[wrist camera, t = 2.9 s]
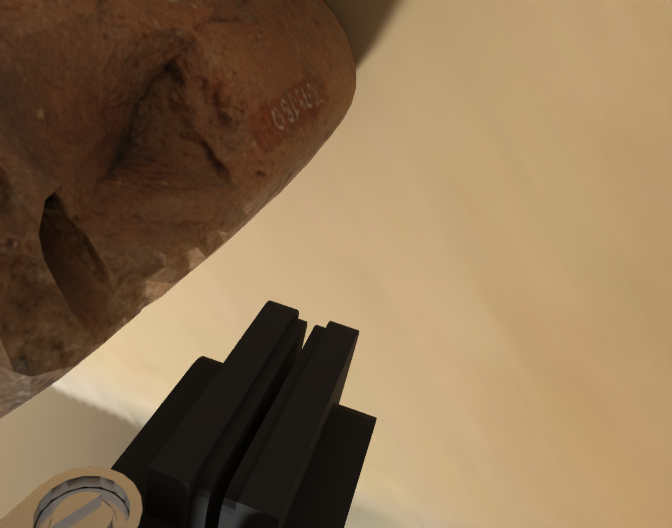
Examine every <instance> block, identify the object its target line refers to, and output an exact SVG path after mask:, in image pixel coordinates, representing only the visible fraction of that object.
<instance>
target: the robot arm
mask: <svg viewBox="0 0 672 528" xmlns="http://www.w3.org/2000/svg"><path fill="white" fill-rule="evenodd" d="M298 317H299V311H298V310H297V309H294V308H291V307H288V306H285V305H282V304H279V303H276V302H273V301H268V302H267V303H266V304H265V305H264V307H263V308H262V310H261V311H260V312H259V314H258V315H257V317H256V318H255V319H254V321H253V322H252V324H251V325H250V326H249V328H248V329H247V331H246V332H245V333H244V335H243V336H242V338H241V339H240V340H239V342H238V343H237V345H236V346H235V347H234V349H233V350H232V352H231V353H230V354H229V356H228V357H227V359H226V360H225V361H224V363H221V362H218V361H216V360H213V359H210V358H207V357H204V356H202V357H200V358H198V359H197V360H196V361H195V362H194V363H193V365H192V366H191V367H190V368H189V370H188V371H187V372H186V373H185V375H184V376H183V377H182V379H181V380H180V381H179V382H178V384H177V385H176V386H175V387H174V389H173V390H172V391H171V393H170V394H169V395H168V396H167V398H166V399H165V400H164V402H163V403H162V404H161V405H160V407H159V408H158V409H157V410H156V412H155V413H154V414H153V416H152V417H151V418H150V419H149V421H148V422H147V423H146V424H145V426H144V427H143V428H142V430H141V431H140V432H139V433H138V435H137V436H136V437H135V439H134V440H133V441H132V442H131V444H130V445H129V446H128V447H127V449H126V450H125V451H124V453H123V454H122V455H121V456H120V458H119V459H118V460H117V461H116V463H115V464H114V465H113V466H112V468H111V469H109V468H102V467H92V466H90V467H82V468H75V469H71V470H68V471H66V472H63V473H61V474H58V475H55V476H54V477H52V478H51V479H49V480H48V481H46V482H45V483H43V484H42V485H40V486H39V487H38V488H37V489H35V491H33V492H32V493H31V494H30V495H29V496H27V497H26V498H25V499H24V500H23V501H22V502H21V503H19V504H18V505H17V506H16V507H15V508H14V509H13V510H12V511H10V512H9V513H8V514H7V515H6V516H5V517H3V518H2V519H1V520H0V528H344V526H345V522H346V519H347V515H348V512H349V509H350V506H351V502H352V499H353V496H354V493H355V489H356V486H357V483H358V479H359V476H360V473H361V469H362V466H363V463H364V459H365V456H366V453H367V449H368V446H369V443H370V440H371V436H372V433H373V430H374V426H375V423H376V419H377V418H376V417H373V416H370V415H367V414H365V413H362V412H359V411H356V410H353V409H351V408H348V407H345V406H342V405H339V402H340V398H341V395H342V391H343V388H344V384H345V381H346V377H347V374H348V370H349V367H350V363H351V360H352V356H353V353H354V349H355V346H356V342H357V339H358V335H359V330H356V329H353V328H350V327H347V326H344V325H341V324H338V323H335V322H332V321H329V323H328V324H327V326H326V328H324V327H321V326H318V325H315V326H314V328H313V330H312V332H311V334H310V335H309V337H308V339H307V341H306V343H305V345H304V347H303V348H302V346H303V342H304V337H305V333H306V328H307V321H304V320H301V319H298Z"/></svg>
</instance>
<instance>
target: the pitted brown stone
mask: <svg viewBox="0 0 672 528" xmlns="http://www.w3.org/2000/svg"><path fill="white" fill-rule="evenodd" d="M355 89H356V71H355V62H354V58H353V55H352V51H351V48H350V44H349V41H348V39H347V36H346V33H345V32H344V30H343V28H342V27H341V25H340V23H339V22H338V20H337V18H336V16H335V15H334V13H333V12H332V10H331V9H330V8H329V7H328V5H327V4H326V3H325V2H324V1H323V0H0V418H2V417H3V416H5V415H7V414H8V413H10V412H11V411H13V410H14V409H16V408H17V407H19V406H20V405H22V404H23V403H25V402H26V401H28V400H29V399H31V398H32V397H33V396H35V395H37V394H38V393H40V392H41V391H43V390H44V389H46V388H47V387H49V386H50V385H52V384H53V383H55V382H56V381H57V380H59V379H60V378H62V377H63V376H64V375H65V374H67V373H68V372H69V371H70V370H71V369H73V368H74V367H75V366H76V365H78V364H79V363H80V362H81V361H83V360H84V359H85V358H86V357H88V356H89V355H90V354H91V353H92V352H94V351H95V350H96V349H97V348H99V347H100V346H101V345H102V344H104V343H105V342H106V341H107V340H108V339H109V338H110V337H112V336H113V335H114V334H115V333H116V332H117V331H118V330H120V329H121V328H122V327H123V326H124V325H126V324H127V323H128V322H129V321H131V320H132V319H133V318H134V317H135V316H136V315H138V314H139V313H140V311H141V310H142V309H143V308H144V307H146V306H147V305H149V304H150V303H152V302H154V301H155V300H157V299H159V298H160V297H162V296H163V295H164V294H165V293H166V292H167V291H169V290H170V289H171V288H172V287H173V286H174V285H176V284H177V283H178V282H179V281H180V280H181V279H183V278H184V277H185V276H186V275H187V274H188V273H189V272H191V271H192V270H193V269H194V268H196V267H197V266H198V265H199V264H201V263H202V262H203V261H204V260H206V259H207V258H208V257H209V256H211V255H212V254H213V253H214V252H216V251H217V250H218V249H219V248H220V247H221V246H222V245H223V244H225V243H226V242H227V241H228V240H229V239H230V238H231V237H232V236H234V235H235V234H236V233H237V232H238V231H239V230H240V229H241V228H242V227H243V226H244V225H246V224H247V223H248V222H249V221H250V220H251V219H252V218H253V217H254V216H255V215H256V214H257V213H258V212H259V211H260V210H261V209H262V208H263V207H264V206H265V205H266V204H267V203H269V202H270V201H271V200H272V199H273V198H274V197H276V196H277V195H278V194H279V193H280V192H281V191H282V190H283V189H284V188H285V187H286V186H287V185H288V184H289V183H290V182H291V181H292V180H293V178H294V177H295V176H296V175H297V174H298V173H299V172H300V171H301V170H302V169H303V168H304V167H305V166H306V165H307V164H308V163H309V162H310V161H311V159H312V158H313V157H314V155H315V154H316V153H317V152H318V150H319V149H320V148H321V147H322V146H323V145H324V143H325V142H326V141H327V140H328V138H329V137H330V136H331V135H332V134H333V132H334V131H335V129H336V128H337V127H338V125H339V124H340V123H341V121H342V120H343V119H344V117H345V115H346V113H347V111H348V109H349V107H350V105H351V103H352V100H353V96H354V93H355Z"/></svg>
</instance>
